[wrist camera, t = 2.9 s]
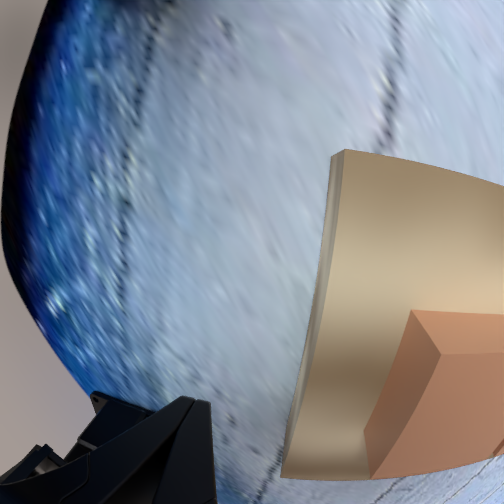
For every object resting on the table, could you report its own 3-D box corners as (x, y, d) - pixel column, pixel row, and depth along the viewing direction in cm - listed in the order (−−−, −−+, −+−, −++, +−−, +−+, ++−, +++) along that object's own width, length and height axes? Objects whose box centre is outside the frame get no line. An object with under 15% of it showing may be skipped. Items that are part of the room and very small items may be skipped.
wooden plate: (509, 415, 12) (526, 445, 9) (286, 428, 14) (280, 477, 11) (581, 225, 8) (617, 238, 5) (331, 156, 10) (345, 148, 7)
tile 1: (469, 421, 9) (486, 459, 6) (363, 430, 9) (370, 479, 7) (523, 314, 7) (558, 346, 5) (410, 309, 8) (441, 354, 5)
